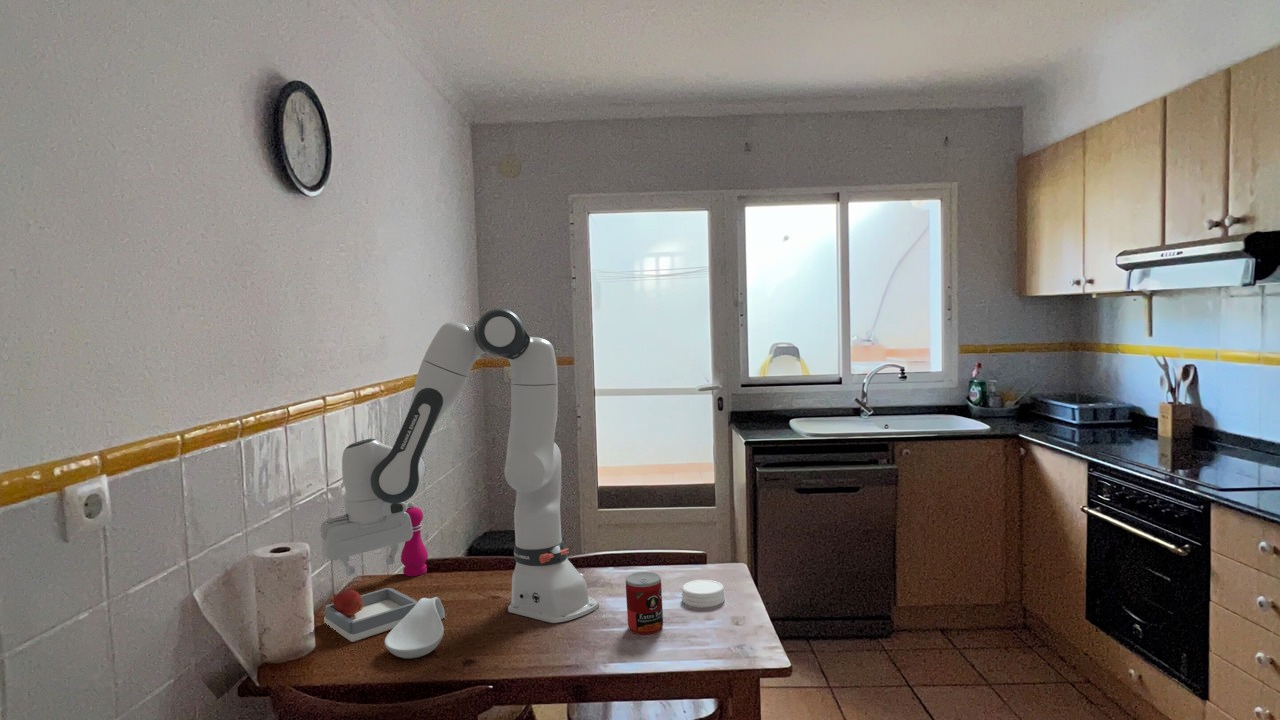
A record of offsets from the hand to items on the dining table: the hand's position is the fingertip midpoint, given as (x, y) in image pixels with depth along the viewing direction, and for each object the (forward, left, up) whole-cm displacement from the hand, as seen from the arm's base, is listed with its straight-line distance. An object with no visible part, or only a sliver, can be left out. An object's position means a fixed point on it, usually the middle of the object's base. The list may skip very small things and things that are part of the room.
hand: (371, 569), depth 167 cm
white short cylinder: (-51, -58, -13) cm, 78 cm away
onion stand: (0, 0, -12) cm, 12 cm away
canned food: (-52, -38, -12) cm, 65 cm away
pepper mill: (+25, -23, -12) cm, 36 cm away
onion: (+1, +2, -9) cm, 9 cm away
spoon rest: (-19, -2, -13) cm, 23 cm away
